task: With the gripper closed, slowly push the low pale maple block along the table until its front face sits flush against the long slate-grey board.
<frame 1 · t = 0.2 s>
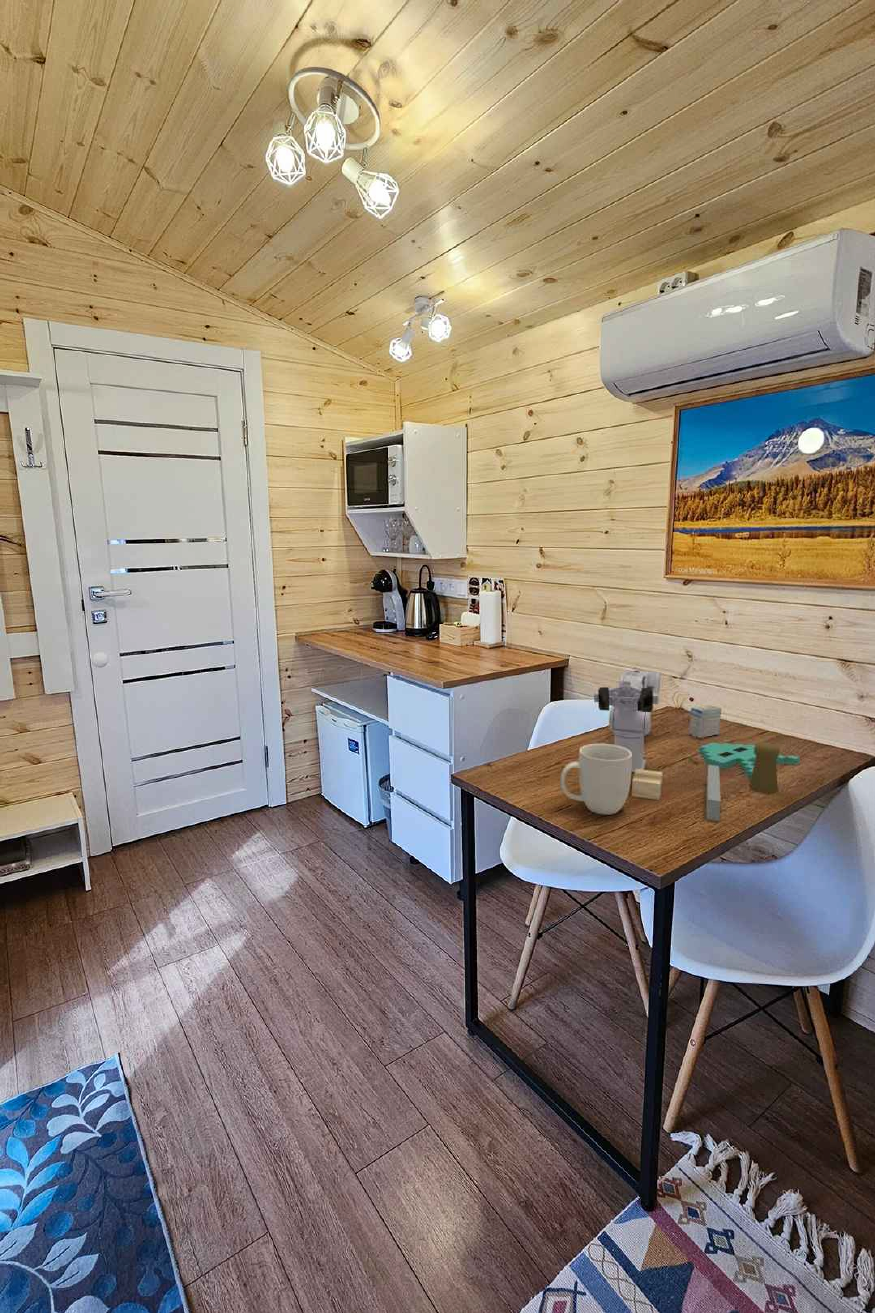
hand: (621, 705, 139), 21 cm above the table, tool horizontal, fingers open, 7 cm apart
board: (712, 800, 139), on the table
cork: (763, 789, 146), on the table
medicine box: (704, 736, 186), on the table
maple block: (646, 792, 145), on the table
alien figure: (740, 763, 164), on the table
mug: (598, 809, 136), on the table
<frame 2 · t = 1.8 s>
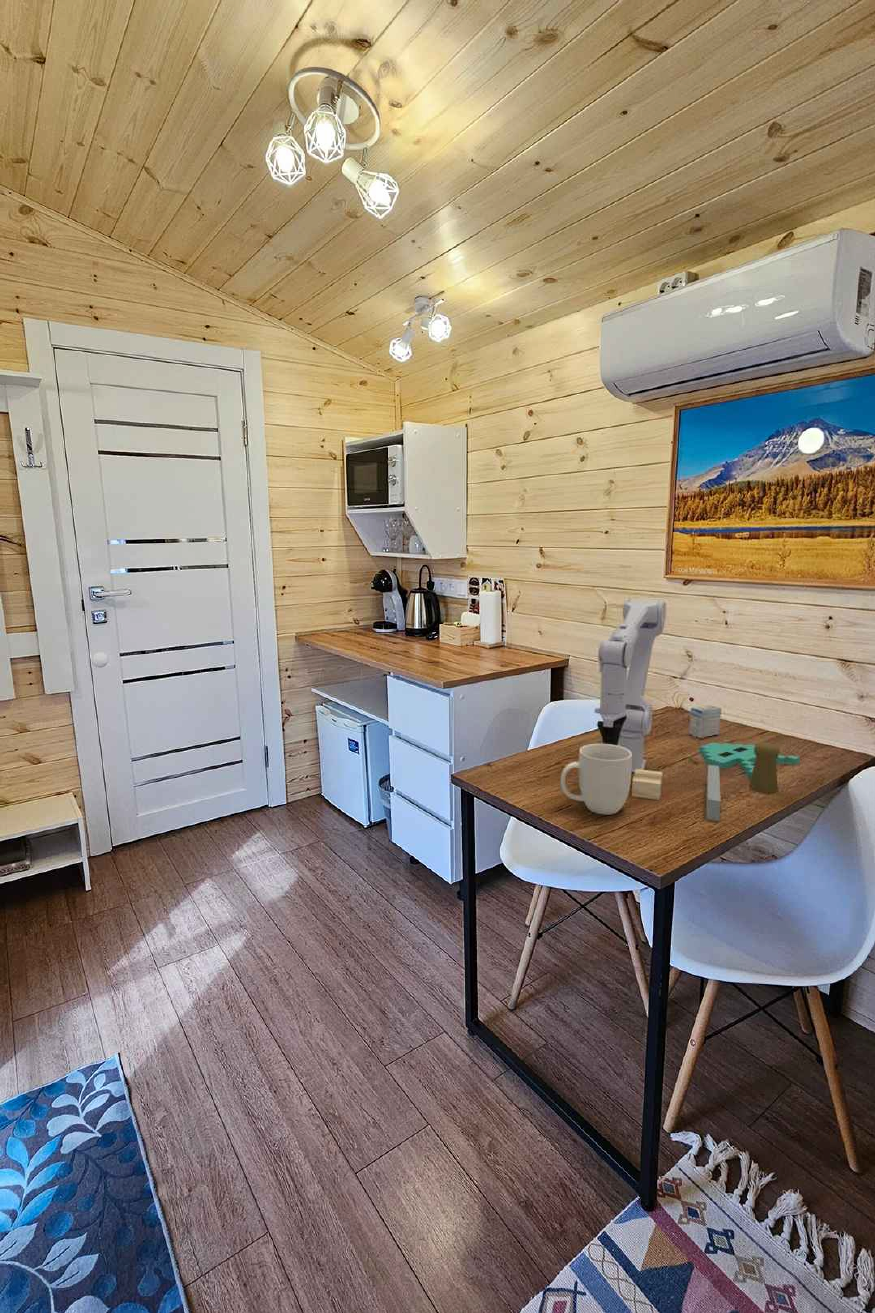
hand: (611, 748, 146), 9 cm above the table, tool pointing down, fingers open, 5 cm apart
nothing on the table moved.
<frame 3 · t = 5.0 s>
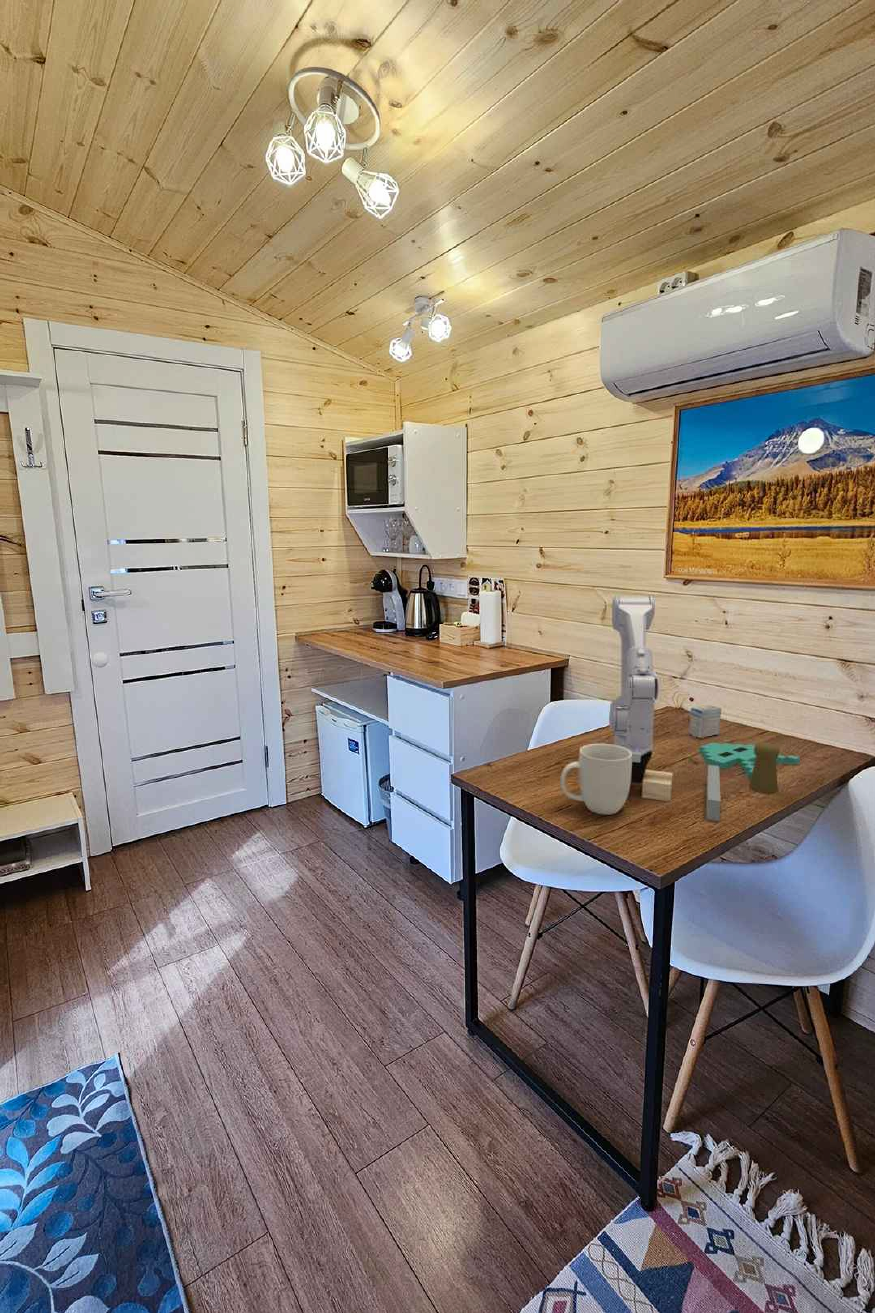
hand: (637, 782, 145), 2 cm above the table, tool pointing down, fingers closed
maple block: (657, 793, 144), on the table, touching gripper
everything else where it was.
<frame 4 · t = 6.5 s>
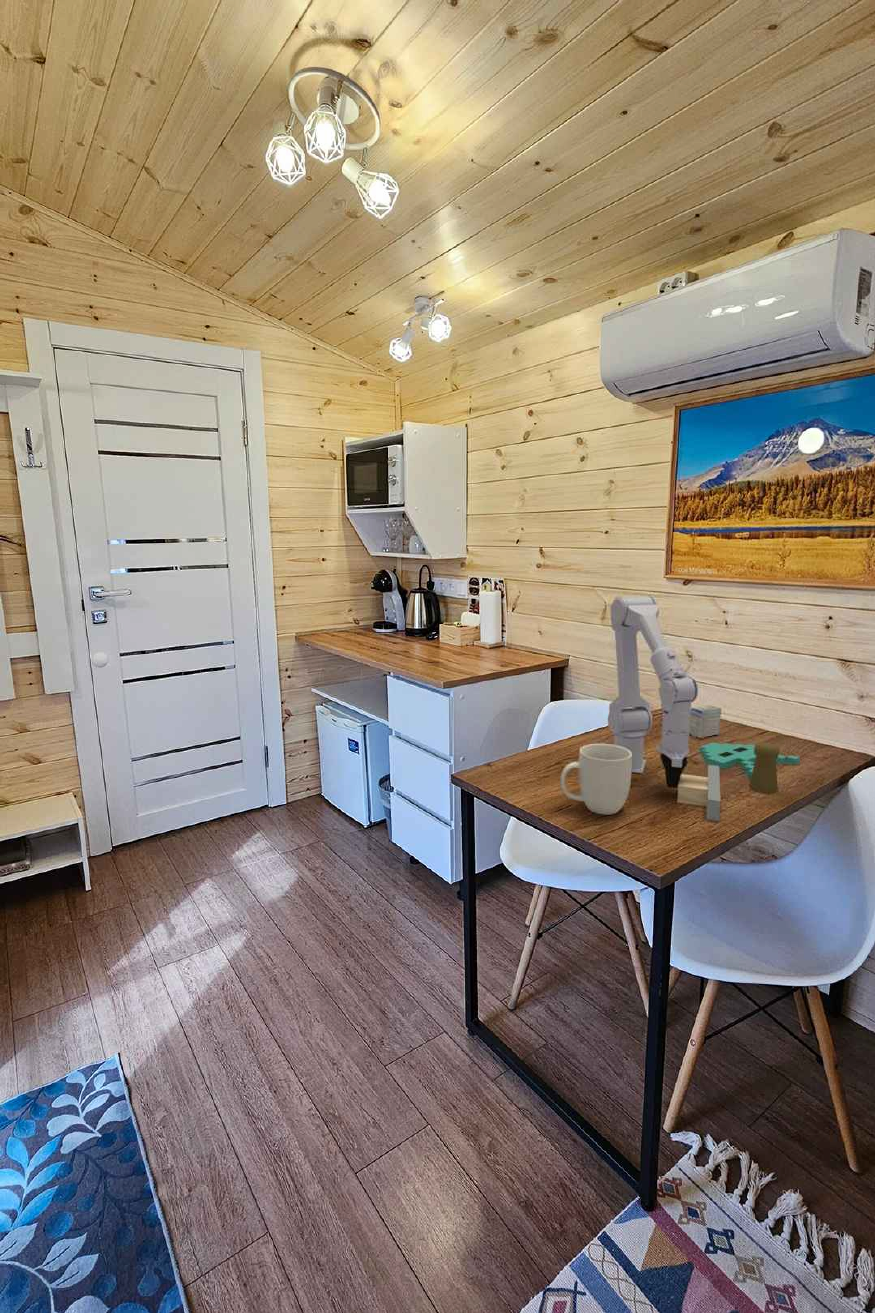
hand: (671, 786, 142), 2 cm above the table, tool pointing down, fingers closed, pressing on maple block
maple block: (692, 798, 141), on the table, touching board, gripper
everything else where it was.
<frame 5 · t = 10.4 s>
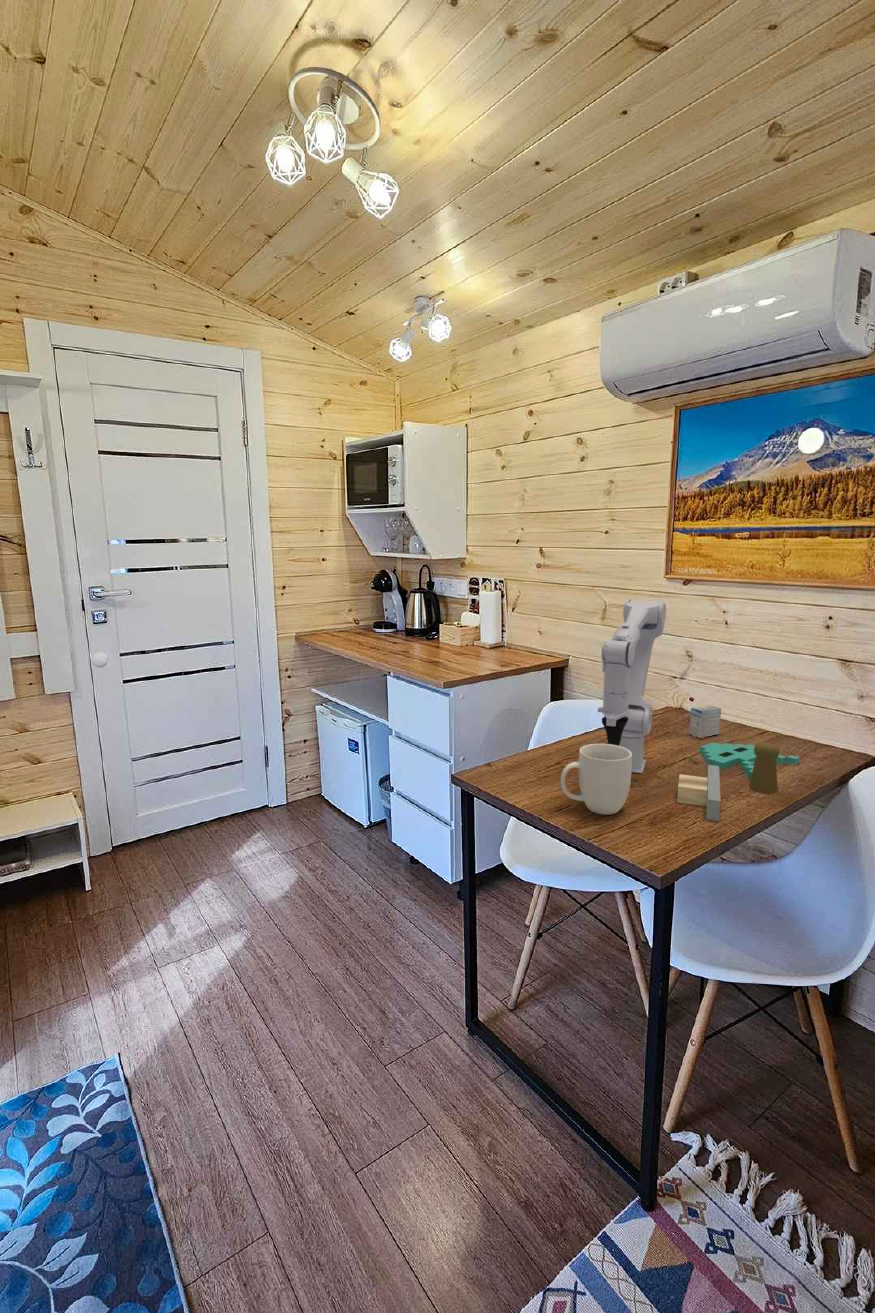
hand: (613, 747, 147), 9 cm above the table, tool pointing down, fingers closed
maple block: (692, 798, 141), on the table
everything else where it was.
at the end: maple block 0.3 cm from the target spot on the table beside the board, on the table; maple block tilted 0° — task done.
